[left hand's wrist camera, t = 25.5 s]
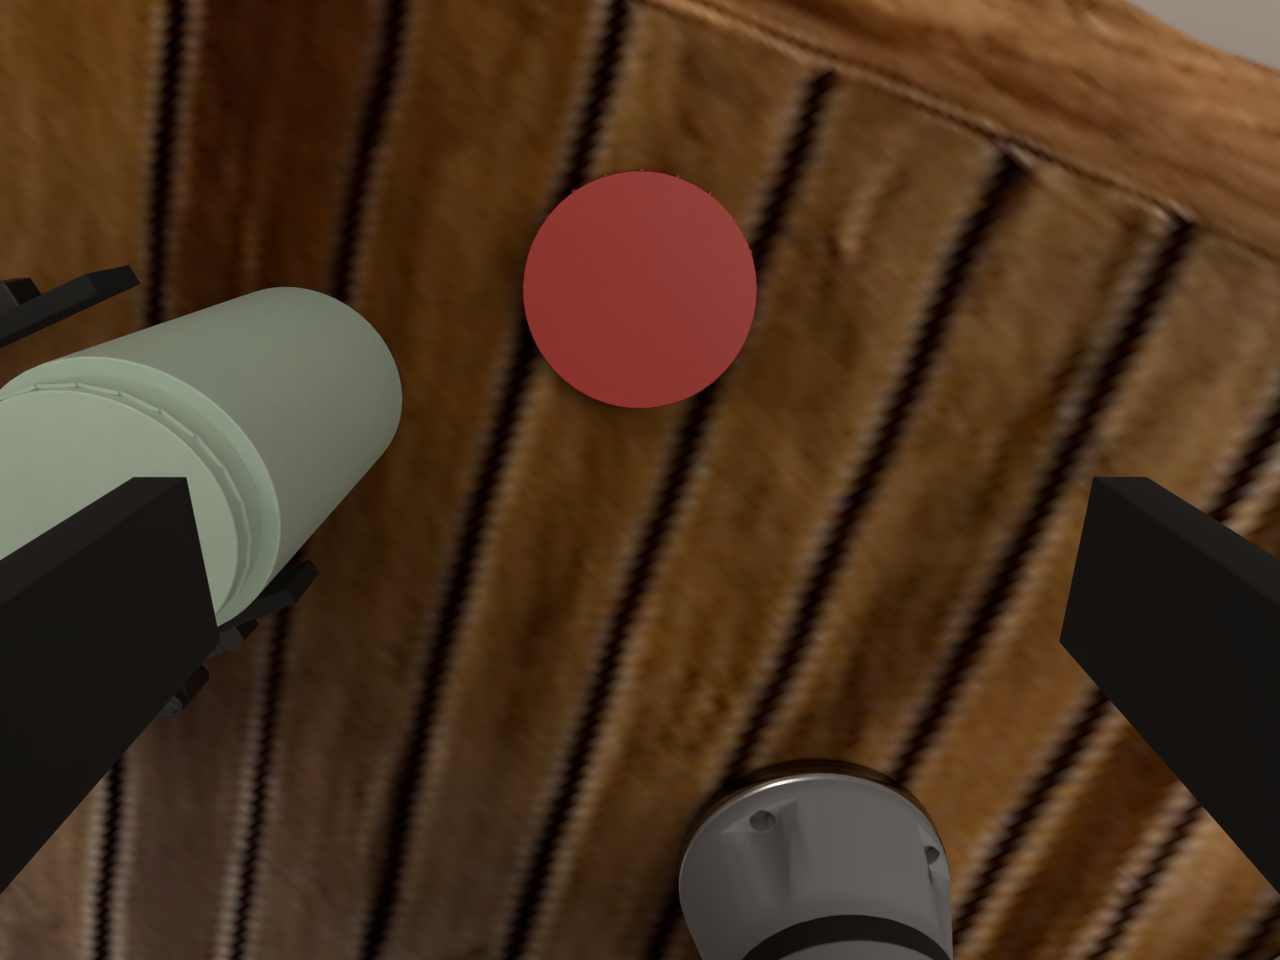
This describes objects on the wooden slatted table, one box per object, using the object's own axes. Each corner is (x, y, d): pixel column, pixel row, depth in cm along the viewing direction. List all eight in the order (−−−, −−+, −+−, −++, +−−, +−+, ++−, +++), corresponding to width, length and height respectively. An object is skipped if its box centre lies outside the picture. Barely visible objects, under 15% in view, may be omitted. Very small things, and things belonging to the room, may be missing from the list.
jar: (433, 346, 38) (300, 464, 23) (360, 513, 41) (202, 714, 26) (234, 248, 37) (-44, 308, 22) (174, 430, 39) (-107, 592, 25)
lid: (481, 255, 37) (473, 260, 35) (674, 118, 35) (676, 116, 33) (609, 437, 40) (607, 450, 38) (793, 320, 38) (801, 329, 36)
